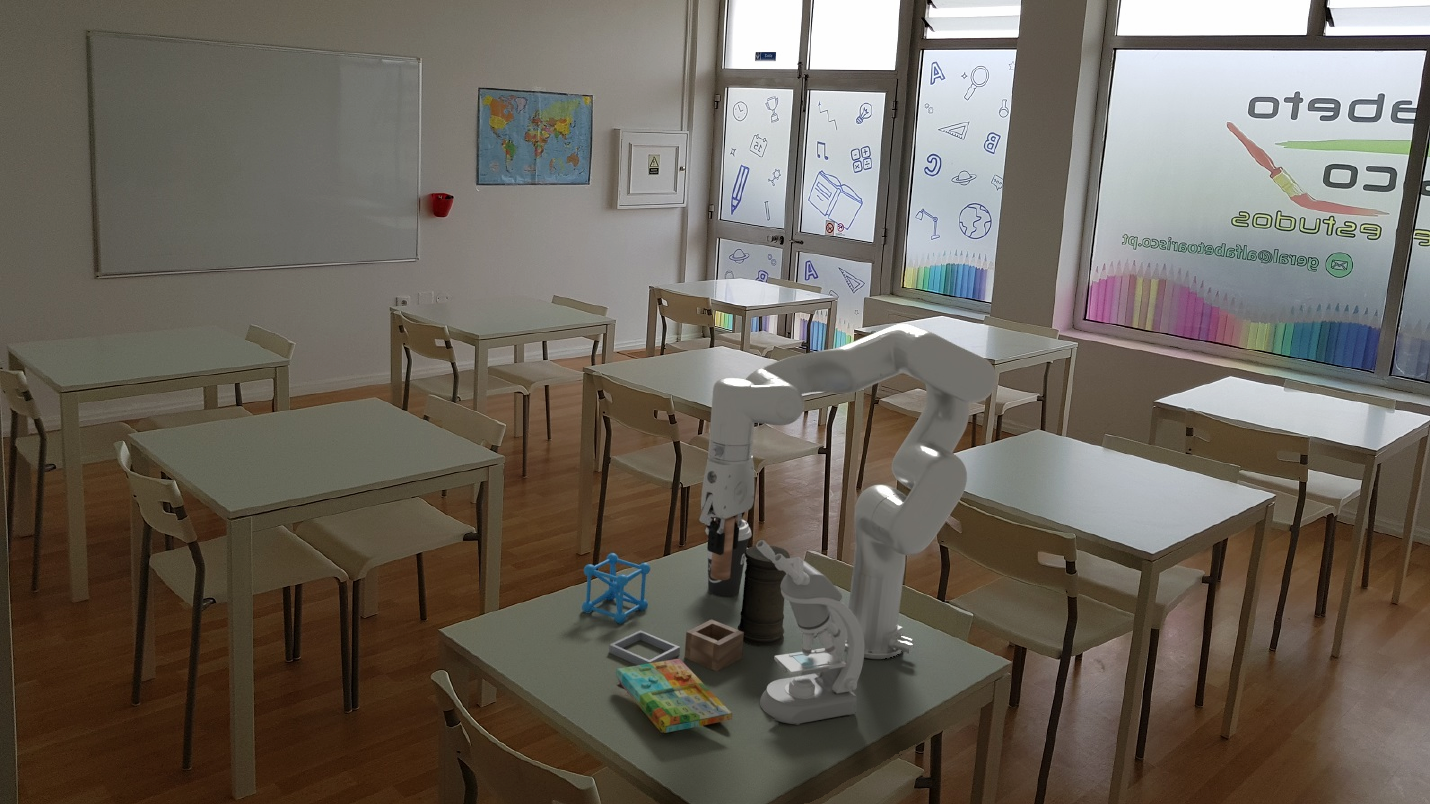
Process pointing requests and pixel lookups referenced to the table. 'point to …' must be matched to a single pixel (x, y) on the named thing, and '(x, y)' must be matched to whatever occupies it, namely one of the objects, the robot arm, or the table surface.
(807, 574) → the microscope
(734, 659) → the pin cup
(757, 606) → the container
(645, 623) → the table surface
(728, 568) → the dowel
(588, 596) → the molecular structure
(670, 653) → the tray
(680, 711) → the puzzle game
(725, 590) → the coffee cup
